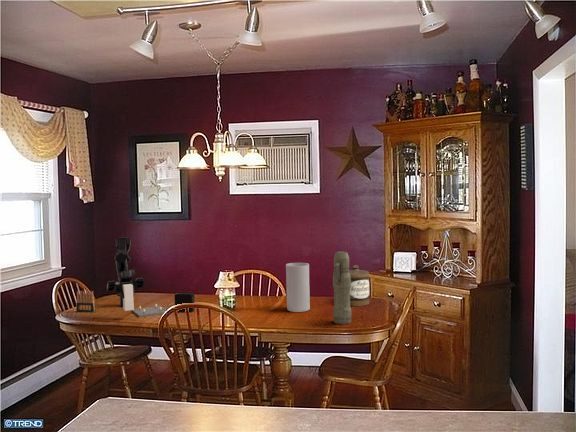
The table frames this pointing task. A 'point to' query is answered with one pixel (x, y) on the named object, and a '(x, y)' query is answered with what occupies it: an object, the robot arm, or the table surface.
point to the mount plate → (149, 311)
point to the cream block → (128, 297)
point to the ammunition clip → (85, 302)
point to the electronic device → (184, 300)
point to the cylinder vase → (297, 287)
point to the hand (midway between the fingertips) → (128, 297)
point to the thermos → (341, 289)
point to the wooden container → (359, 287)
